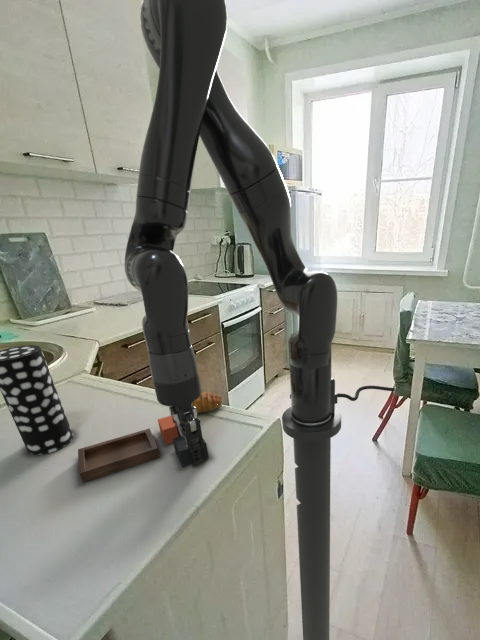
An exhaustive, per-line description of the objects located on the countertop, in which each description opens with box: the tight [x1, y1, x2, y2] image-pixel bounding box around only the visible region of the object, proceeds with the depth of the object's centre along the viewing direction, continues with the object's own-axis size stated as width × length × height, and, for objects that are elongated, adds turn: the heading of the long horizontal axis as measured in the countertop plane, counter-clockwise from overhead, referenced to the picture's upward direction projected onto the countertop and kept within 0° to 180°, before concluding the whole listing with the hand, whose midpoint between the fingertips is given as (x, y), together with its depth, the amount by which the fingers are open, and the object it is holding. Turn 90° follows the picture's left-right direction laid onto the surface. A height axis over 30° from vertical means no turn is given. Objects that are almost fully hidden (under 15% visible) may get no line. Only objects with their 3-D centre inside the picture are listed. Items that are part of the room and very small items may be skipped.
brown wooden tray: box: [77, 427, 161, 484], centre depth 67 cm, size 13×8×2 cm, turn 120°
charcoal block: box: [172, 436, 210, 468], centre depth 66 cm, size 5×5×4 cm
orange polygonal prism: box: [157, 415, 179, 445], centre depth 73 cm, size 5×5×4 cm
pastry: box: [192, 391, 223, 414], centre depth 83 cm, size 9×7×4 cm
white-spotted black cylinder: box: [0, 344, 74, 456], centre depth 69 cm, size 8×8×20 cm
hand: (191, 452), depth 67 cm, fingers open, 6 cm apart
